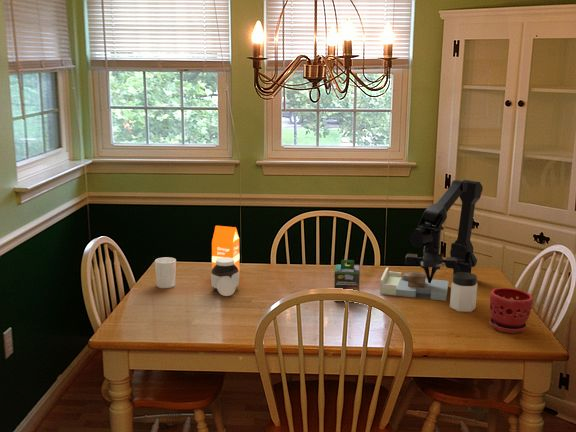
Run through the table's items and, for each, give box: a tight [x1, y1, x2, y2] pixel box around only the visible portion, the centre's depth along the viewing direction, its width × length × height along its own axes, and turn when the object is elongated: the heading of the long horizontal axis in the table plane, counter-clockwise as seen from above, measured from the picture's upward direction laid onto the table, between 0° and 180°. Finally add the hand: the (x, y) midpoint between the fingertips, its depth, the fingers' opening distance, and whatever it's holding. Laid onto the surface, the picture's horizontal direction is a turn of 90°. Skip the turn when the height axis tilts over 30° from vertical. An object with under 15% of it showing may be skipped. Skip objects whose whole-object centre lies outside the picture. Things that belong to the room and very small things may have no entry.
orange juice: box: [211, 225, 241, 271], centre depth 268 cm, size 8×9×20 cm
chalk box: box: [333, 259, 361, 303], centre depth 245 cm, size 9×9×15 cm
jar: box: [449, 272, 478, 313], centre depth 237 cm, size 9×8×12 cm
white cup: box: [154, 256, 177, 289], centre depth 255 cm, size 8×8×10 cm
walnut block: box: [408, 271, 427, 288], centre depth 254 cm, size 6×6×4 cm
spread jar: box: [210, 257, 240, 297], centre depth 250 cm, size 12×11×12 cm
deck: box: [379, 266, 449, 302], centre depth 255 cm, size 24×16×6 cm, turn 74°
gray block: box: [402, 272, 409, 281], centre depth 261 cm, size 4×4×4 cm
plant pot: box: [489, 287, 534, 334], centre depth 220 cm, size 13×13×12 cm
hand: (429, 282), depth 253 cm, fingers closed
